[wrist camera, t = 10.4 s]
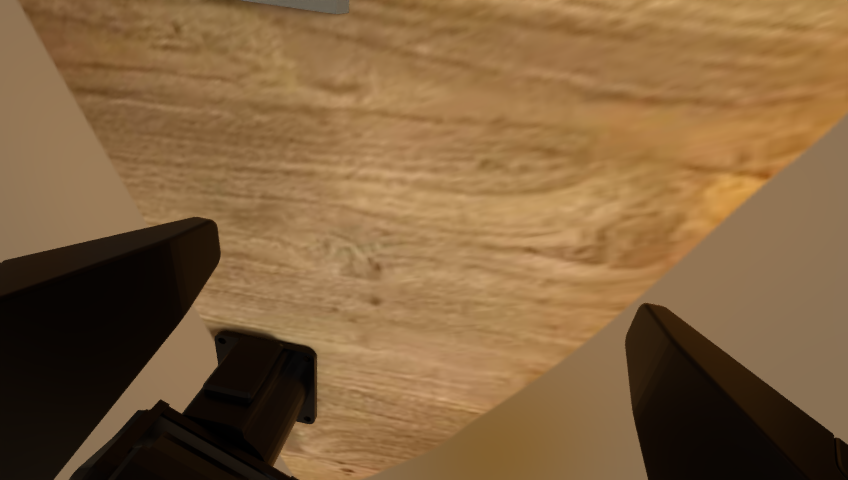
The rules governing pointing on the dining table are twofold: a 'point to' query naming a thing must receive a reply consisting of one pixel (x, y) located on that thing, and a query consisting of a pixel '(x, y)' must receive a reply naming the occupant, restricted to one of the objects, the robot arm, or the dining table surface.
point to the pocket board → (311, 5)
